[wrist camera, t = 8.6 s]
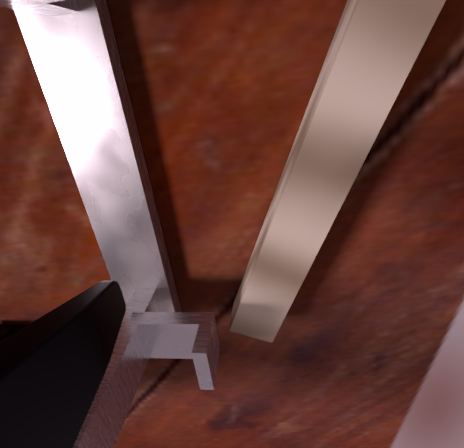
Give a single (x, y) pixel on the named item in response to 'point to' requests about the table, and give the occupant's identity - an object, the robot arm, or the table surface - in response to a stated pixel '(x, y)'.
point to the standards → (113, 201)
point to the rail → (330, 151)
